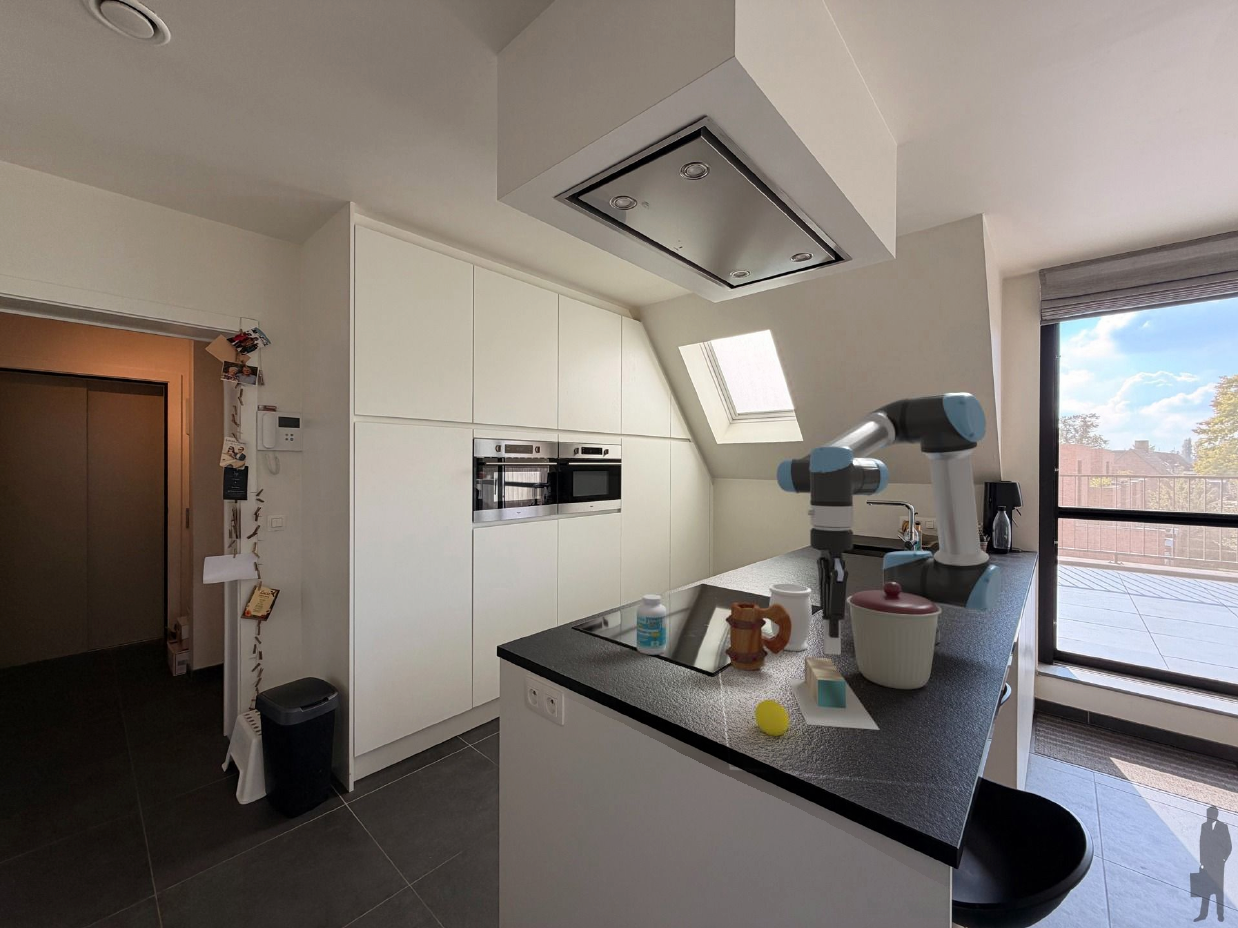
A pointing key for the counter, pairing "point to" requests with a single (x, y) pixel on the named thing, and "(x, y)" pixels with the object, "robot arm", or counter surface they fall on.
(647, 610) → the pill bottle
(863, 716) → the mat
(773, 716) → the lemon
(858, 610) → the canister
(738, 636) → the mug
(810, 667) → the block
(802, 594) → the jar
